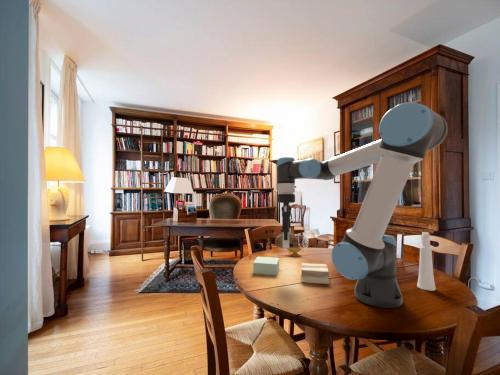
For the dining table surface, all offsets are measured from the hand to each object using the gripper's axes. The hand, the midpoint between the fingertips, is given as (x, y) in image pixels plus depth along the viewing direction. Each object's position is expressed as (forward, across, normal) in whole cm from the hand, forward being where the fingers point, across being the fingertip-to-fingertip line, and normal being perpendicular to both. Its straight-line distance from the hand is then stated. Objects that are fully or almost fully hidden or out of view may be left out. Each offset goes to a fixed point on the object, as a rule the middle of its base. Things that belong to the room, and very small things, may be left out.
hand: (286, 245), depth 104 cm
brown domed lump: (+1, 0, 0) cm, 1 cm away
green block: (+15, +12, +10) cm, 21 cm away
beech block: (+15, +6, -12) cm, 20 cm away
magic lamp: (+15, +45, 0) cm, 47 cm away
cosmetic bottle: (+16, +4, -54) cm, 57 cm away
